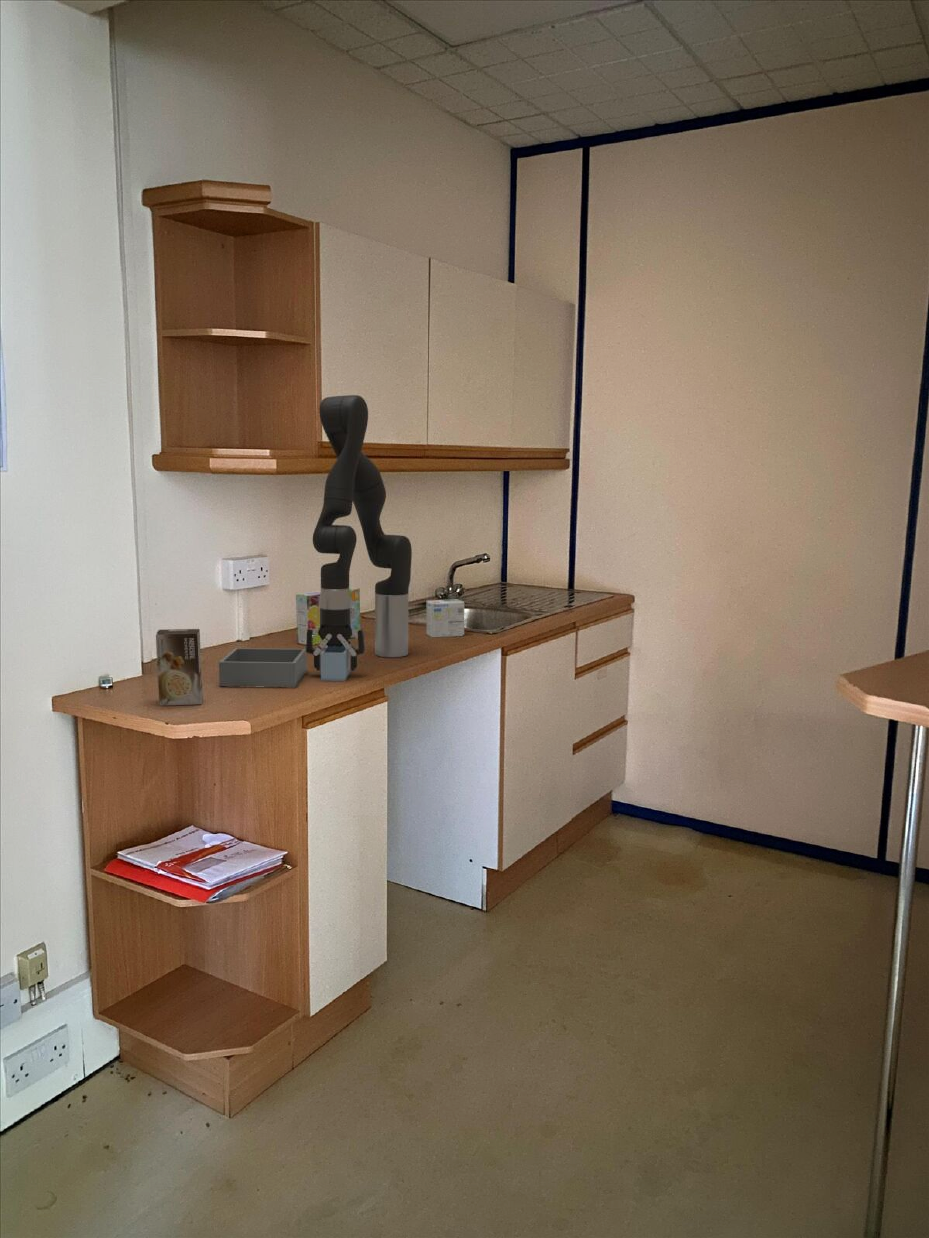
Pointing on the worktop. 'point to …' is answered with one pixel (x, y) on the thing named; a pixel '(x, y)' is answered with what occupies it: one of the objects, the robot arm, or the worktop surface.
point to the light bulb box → (445, 618)
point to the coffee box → (179, 667)
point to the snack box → (311, 614)
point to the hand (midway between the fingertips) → (335, 670)
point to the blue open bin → (335, 663)
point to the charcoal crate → (263, 667)
